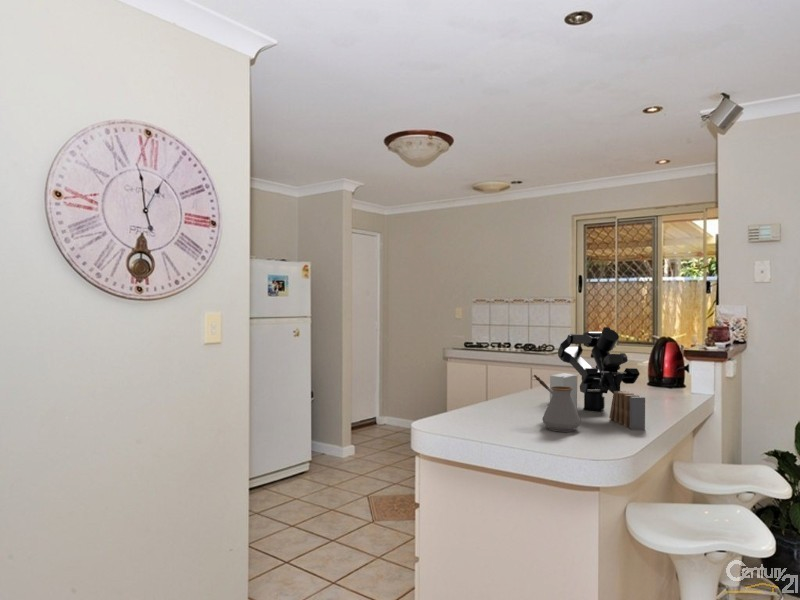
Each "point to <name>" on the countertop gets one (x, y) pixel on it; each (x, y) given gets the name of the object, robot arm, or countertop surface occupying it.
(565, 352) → the robot arm
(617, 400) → the domino
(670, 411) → the countertop surface
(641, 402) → the domino
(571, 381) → the skincare box
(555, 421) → the coffee pot
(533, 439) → the countertop surface
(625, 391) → the domino
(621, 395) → the domino
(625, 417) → the domino
